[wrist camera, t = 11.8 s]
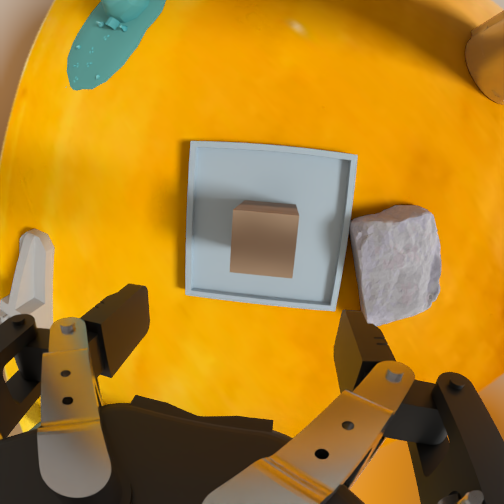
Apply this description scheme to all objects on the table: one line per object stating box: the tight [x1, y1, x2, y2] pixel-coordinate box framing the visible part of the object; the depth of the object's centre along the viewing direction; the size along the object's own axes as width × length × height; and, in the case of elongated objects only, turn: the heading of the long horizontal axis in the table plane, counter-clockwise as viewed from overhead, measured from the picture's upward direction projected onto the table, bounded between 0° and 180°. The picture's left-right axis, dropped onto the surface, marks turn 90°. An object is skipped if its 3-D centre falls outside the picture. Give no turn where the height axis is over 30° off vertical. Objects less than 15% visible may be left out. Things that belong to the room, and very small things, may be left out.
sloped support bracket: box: [0, 229, 54, 329], centre depth 33 cm, size 6×18×8 cm, turn 163°
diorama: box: [66, 0, 166, 90], centre depth 23 cm, size 12×20×9 cm, turn 145°
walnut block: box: [230, 200, 299, 278], centre depth 27 cm, size 5×5×7 cm
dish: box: [185, 141, 358, 311], centre depth 30 cm, size 16×16×1 cm
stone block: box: [349, 205, 441, 326], centre depth 29 cm, size 12×5×10 cm
